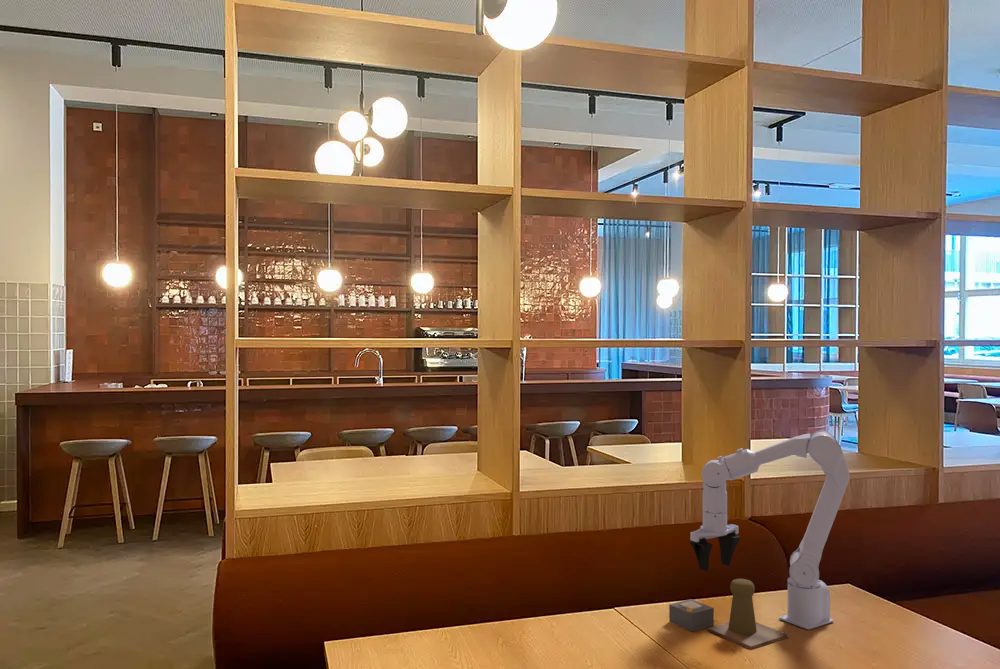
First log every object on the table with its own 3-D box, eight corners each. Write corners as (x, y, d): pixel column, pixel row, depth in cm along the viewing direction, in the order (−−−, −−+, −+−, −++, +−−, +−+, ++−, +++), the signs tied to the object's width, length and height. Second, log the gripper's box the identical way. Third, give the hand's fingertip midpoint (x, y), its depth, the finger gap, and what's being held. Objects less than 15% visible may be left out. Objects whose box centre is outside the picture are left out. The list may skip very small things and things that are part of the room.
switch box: (691, 615, 182) (691, 597, 182) (713, 625, 176) (713, 606, 176) (669, 621, 178) (669, 602, 178) (691, 631, 172) (691, 612, 172)
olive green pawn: (757, 635, 168) (757, 585, 168) (729, 633, 170) (728, 583, 170) (755, 625, 174) (755, 577, 174) (727, 623, 175) (727, 575, 175)
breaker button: (691, 613, 179) (691, 601, 179) (702, 618, 176) (702, 605, 176) (680, 616, 177) (680, 604, 177) (691, 621, 174) (691, 608, 174)
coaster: (744, 620, 179) (744, 617, 179) (787, 637, 169) (787, 634, 169) (707, 630, 173) (707, 628, 173) (750, 649, 162) (750, 646, 162)
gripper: (722, 504, 192) (723, 558, 192) (680, 511, 185) (680, 567, 185) (745, 509, 186) (745, 565, 186) (702, 517, 179) (703, 575, 179)
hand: (714, 567), depth 185 cm, fingers open, 7 cm apart
